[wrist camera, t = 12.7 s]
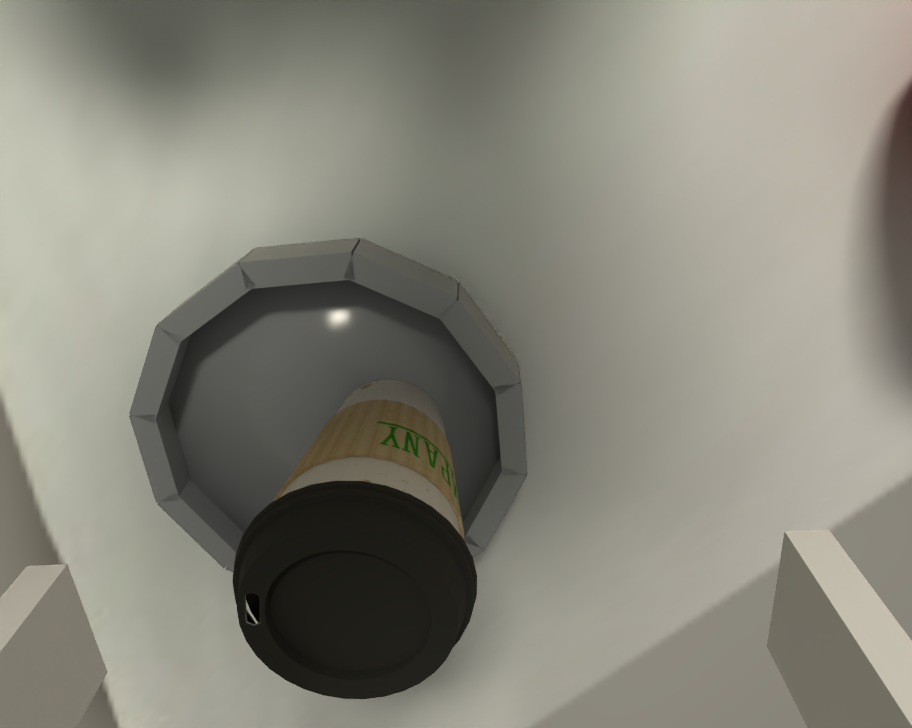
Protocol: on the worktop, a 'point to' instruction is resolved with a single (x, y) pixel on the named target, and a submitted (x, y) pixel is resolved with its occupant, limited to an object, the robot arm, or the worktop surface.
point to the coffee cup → (361, 553)
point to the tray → (318, 382)
